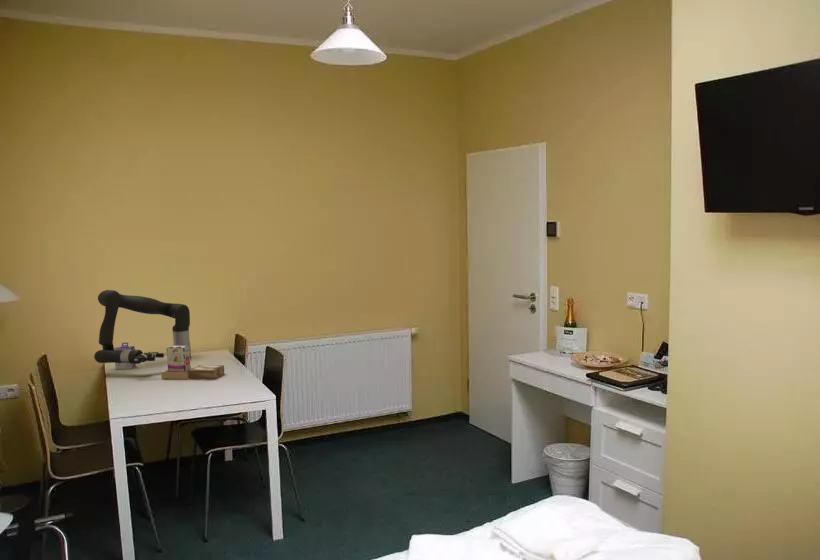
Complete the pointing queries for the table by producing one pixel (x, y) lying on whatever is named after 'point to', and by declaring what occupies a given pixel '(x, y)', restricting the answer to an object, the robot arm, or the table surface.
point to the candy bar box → (178, 358)
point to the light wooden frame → (175, 374)
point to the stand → (206, 372)
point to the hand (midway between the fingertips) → (159, 357)
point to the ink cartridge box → (124, 365)
